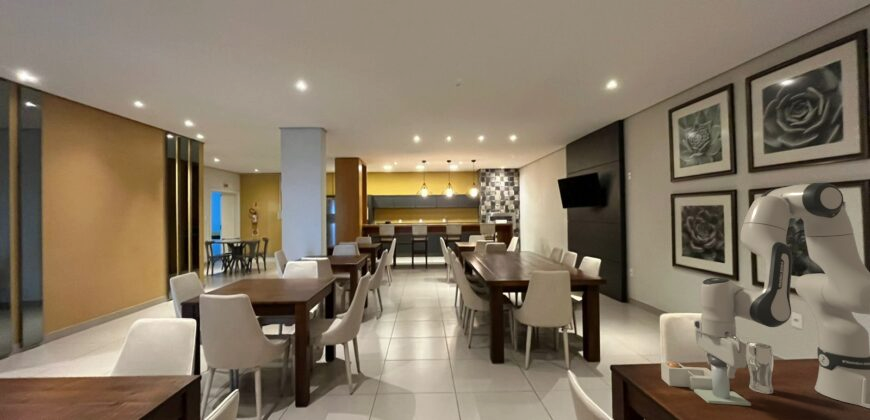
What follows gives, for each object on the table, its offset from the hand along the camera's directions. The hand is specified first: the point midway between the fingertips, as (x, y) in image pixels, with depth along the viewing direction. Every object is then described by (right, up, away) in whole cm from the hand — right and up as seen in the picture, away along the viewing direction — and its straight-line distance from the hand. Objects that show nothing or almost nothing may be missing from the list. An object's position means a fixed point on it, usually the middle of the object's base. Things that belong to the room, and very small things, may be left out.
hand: (720, 371), depth 116 cm
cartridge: (0, -8, 0) cm, 8 cm away
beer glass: (+18, -9, +5) cm, 21 cm away
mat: (0, -9, 0) cm, 9 cm away
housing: (-2, -9, +11) cm, 14 cm away
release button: (-7, -6, +12) cm, 15 cm away
